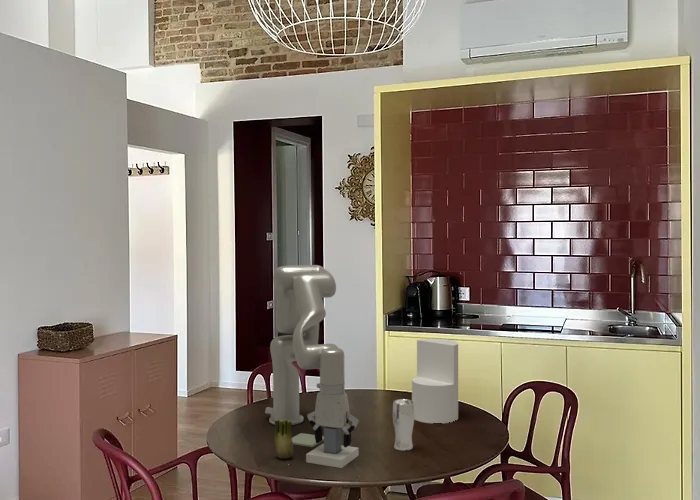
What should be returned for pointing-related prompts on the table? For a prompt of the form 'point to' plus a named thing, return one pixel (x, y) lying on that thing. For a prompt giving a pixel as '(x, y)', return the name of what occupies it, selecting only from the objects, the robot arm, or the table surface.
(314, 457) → the white square hole board
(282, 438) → the fennel bulb
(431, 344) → the grey stepped cylindrical piece
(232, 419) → the table surface
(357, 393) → the table surface
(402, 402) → the beer glass
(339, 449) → the slate plug
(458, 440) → the table surface
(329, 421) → the robot arm
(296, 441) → the sage mat
